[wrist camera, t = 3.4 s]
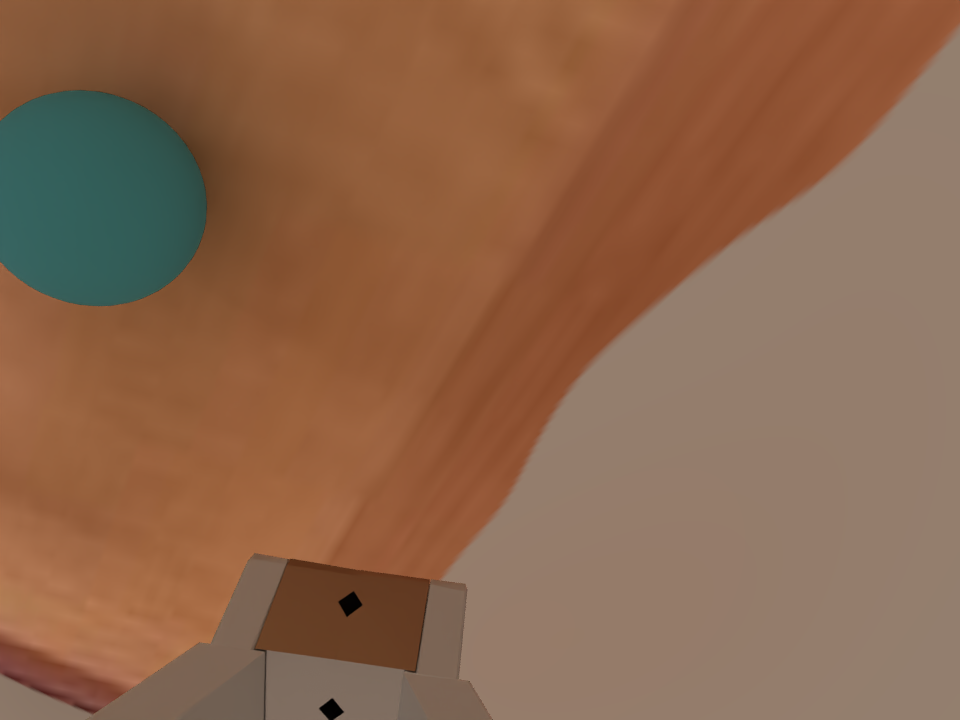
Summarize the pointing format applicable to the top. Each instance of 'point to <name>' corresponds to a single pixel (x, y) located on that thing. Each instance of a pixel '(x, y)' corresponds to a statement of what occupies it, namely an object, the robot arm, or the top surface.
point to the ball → (96, 198)
